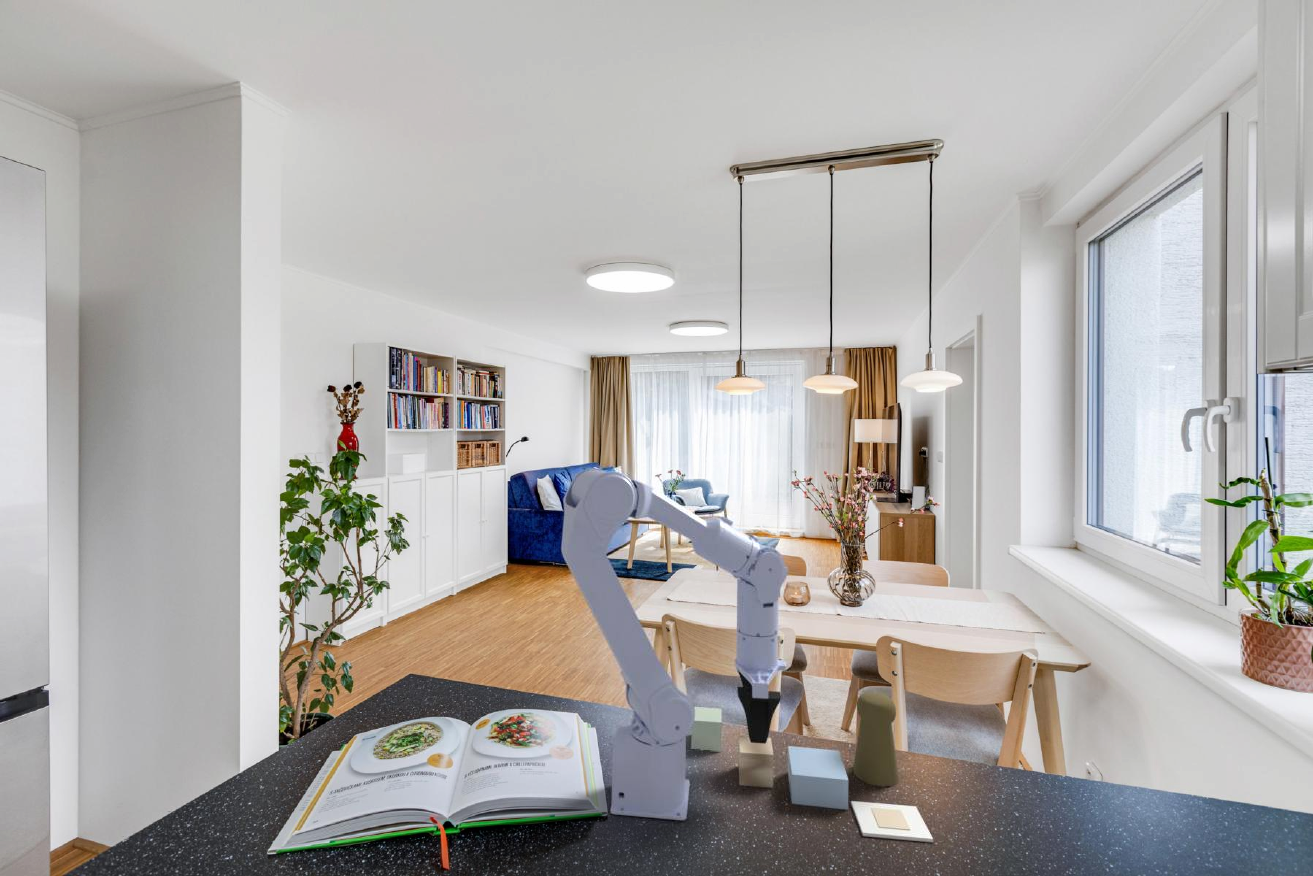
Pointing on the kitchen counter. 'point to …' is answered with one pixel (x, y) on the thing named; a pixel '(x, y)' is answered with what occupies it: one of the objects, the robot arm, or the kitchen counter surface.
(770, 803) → the kitchen counter surface
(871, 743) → the cork
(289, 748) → the kitchen counter surface
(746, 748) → the birch block
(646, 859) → the kitchen counter surface
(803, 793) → the blue base block
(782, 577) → the robot arm
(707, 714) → the sage green block
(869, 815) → the tile
